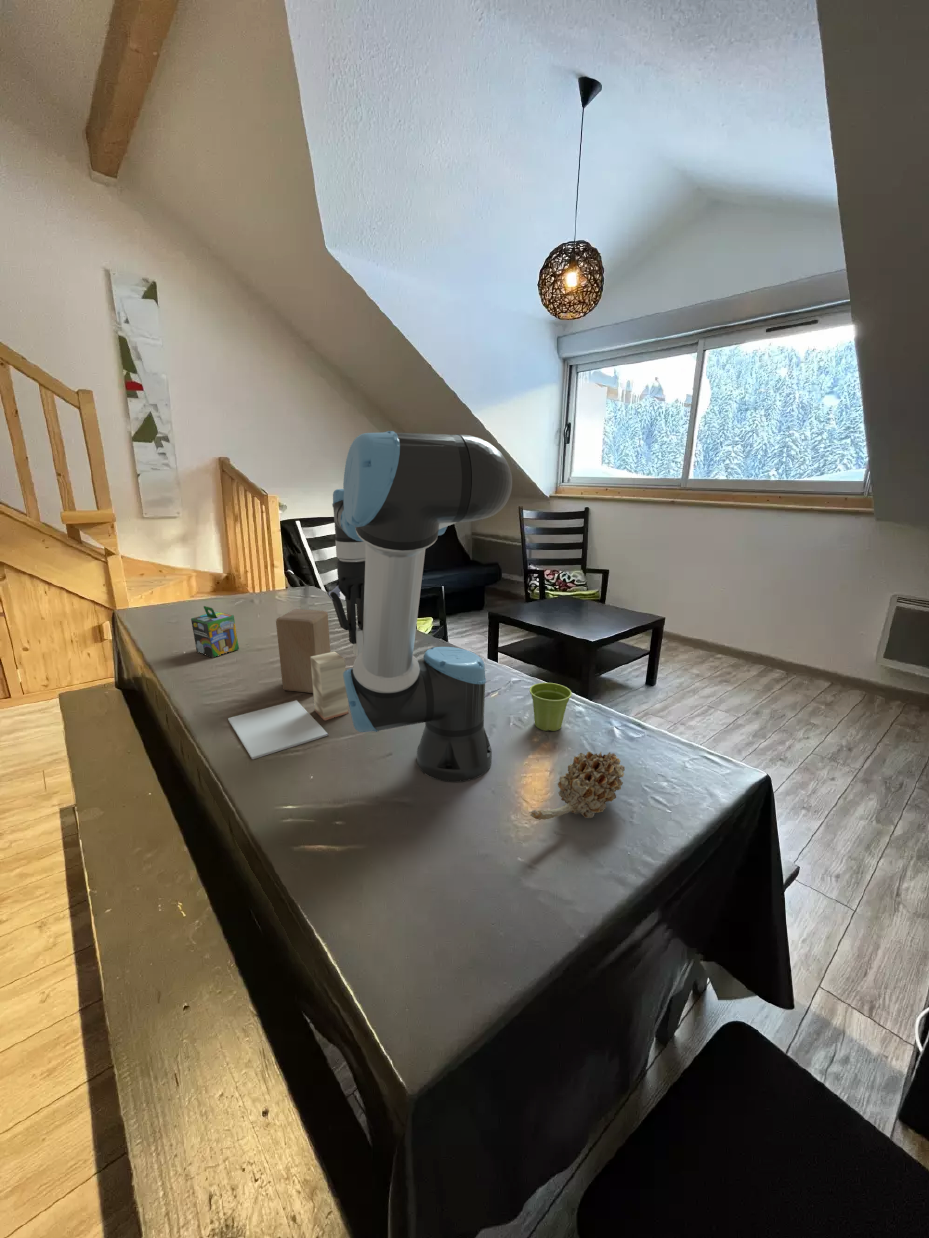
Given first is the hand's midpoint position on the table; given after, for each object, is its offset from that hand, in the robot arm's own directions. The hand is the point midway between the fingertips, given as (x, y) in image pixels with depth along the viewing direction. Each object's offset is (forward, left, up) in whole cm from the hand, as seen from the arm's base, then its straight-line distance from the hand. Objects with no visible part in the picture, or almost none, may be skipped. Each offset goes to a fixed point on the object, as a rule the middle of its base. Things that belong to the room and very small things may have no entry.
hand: (358, 654), depth 122 cm
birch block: (0, +8, -13) cm, 15 cm away
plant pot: (-35, -30, -13) cm, 48 cm away
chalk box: (+59, +21, -13) cm, 64 cm away
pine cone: (-60, -11, -13) cm, 62 cm away
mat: (0, +21, -13) cm, 24 cm away
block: (+18, +7, -13) cm, 23 cm away
